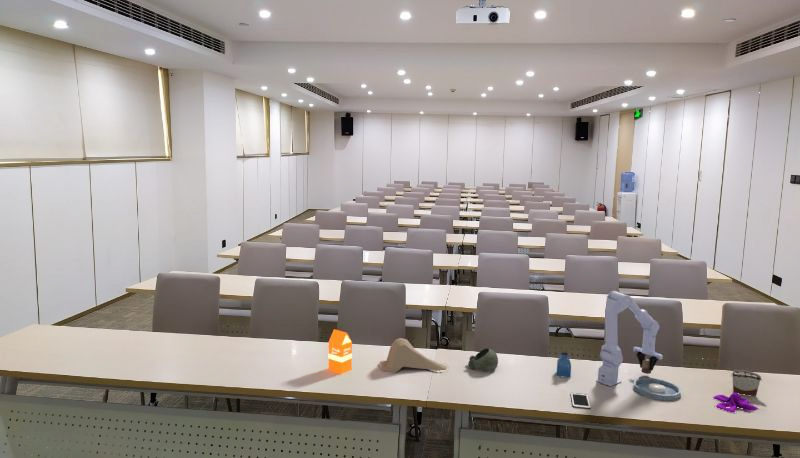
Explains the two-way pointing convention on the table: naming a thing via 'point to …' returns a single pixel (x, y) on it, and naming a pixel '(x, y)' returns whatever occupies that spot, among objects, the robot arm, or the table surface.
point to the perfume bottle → (564, 365)
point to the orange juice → (340, 352)
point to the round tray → (657, 389)
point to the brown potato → (645, 366)
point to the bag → (407, 358)
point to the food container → (745, 382)
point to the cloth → (734, 402)
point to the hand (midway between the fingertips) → (646, 368)
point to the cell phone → (580, 400)
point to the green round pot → (484, 360)
